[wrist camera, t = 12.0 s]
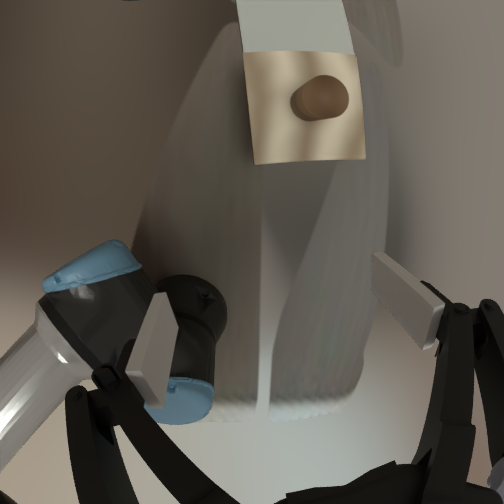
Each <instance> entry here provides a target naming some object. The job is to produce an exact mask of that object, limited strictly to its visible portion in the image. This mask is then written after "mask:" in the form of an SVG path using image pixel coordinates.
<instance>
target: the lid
mask: <svg viewBox="0 0 504 504" xmlns="http://www.w3.org/2000/svg"><path fill="white" fill-rule="evenodd" d="M242 56H243V64H244V73H245V82H246V91H247V100H248V109H249V119H250V128H251V138H252V147H253V157H254V164H255V165H259V164H269V163H281V162H296V161H313V160H339V159H365V138H364V121H363V109H362V98H361V89H360V80H359V73H358V66H357V59H356V55H352V54H343V53H332V52H316V51H262V52H246V53H243V54H242Z"/></svg>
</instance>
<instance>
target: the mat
mask: <svg viewBox="0 0 504 504" xmlns="http://www.w3.org/2000/svg"><path fill="white" fill-rule="evenodd" d="M236 4H237V11H238V17H239V24H240V31H241V38H242V45H243V53H246V52H262V51H316V52H332V53H343V54H352V55H354V51H353V46H352V41H351V36H350V32H349V27H348V23H347V19H346V15H345V11H344V7H343V4H342V0H236Z"/></svg>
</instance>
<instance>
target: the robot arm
mask: <svg viewBox="0 0 504 504" xmlns="http://www.w3.org/2000/svg"><path fill="white" fill-rule="evenodd" d="M142 267H143V266H142V264H141V263H138V261H137V260H136V259H135V257H134V256H133V255H132V253H131V252H130V251H129V249H128V248H127V247H126V245H125V244H124V243H123V242H121V241H118V240H109V241H107V242H105V243H102V244H100V245H99V246H97V247H95V248H93V249H91V250H89V251H88V252H86V253H84V254H82V255H81V256H79V257H77V258H76V259H74V260H72V261H70V262H69V263H67V264H66V265H64V266H62V267H61V268H60V269H58V270H56V271H55V272H53V273H52V274H51V275H49V276H47V277H46V278H45V279H43V281H42V287H43V291H44V292H47V293H46V294H45V295H44V296H43V297H42V298H41V299H40V300H39V301H38V302H37V303H36V313H35V322H34V324H33V325H32V326H31V327H30V328H29V329H28V330H27V331H26V332H25V333H24V334H23V335H22V336H21V337H20V338H19V339H18V340H17V341H16V342H15V343H14V344H13V345H12V346H11V348H10V349H9V350H8V351H7V352H6V353H5V354H4V355H3V356H2V357H1V358H0V472H1V471H2V470H3V469H4V467H5V466H6V465H7V464H8V463H9V462H10V460H11V459H12V458H13V457H14V456H15V454H16V453H17V452H18V451H19V450H20V449H21V447H22V446H23V445H24V444H25V443H26V442H27V441H28V439H29V438H30V437H31V436H32V435H33V434H34V432H35V431H36V430H37V429H38V428H39V427H40V426H41V425H42V423H43V422H44V421H45V420H46V419H47V418H48V417H49V416H50V415H51V413H52V412H53V411H54V410H55V409H56V408H57V407H58V406H59V405H60V404H61V403H62V401H64V399H65V410H66V411H65V412H66V426H67V437H68V446H69V453H70V460H71V466H72V472H73V477H74V482H75V487H76V491H77V495H78V500H79V503H80V504H139V502H138V500H137V497H136V495H135V492H134V490H133V487H132V485H131V482H130V479H129V476H128V474H127V471H126V468H125V465H124V462H123V459H122V456H121V453H120V449H119V446H118V442H117V439H116V435H115V431H114V427H113V426H117V425H120V426H121V428H122V429H123V431H124V432H125V434H126V436H127V437H128V439H129V440H130V441H131V443H132V444H133V446H134V447H135V449H136V450H137V452H138V453H139V454H140V456H141V457H142V458H143V460H144V461H145V462H146V463H147V465H148V466H149V467H150V469H151V470H152V471H153V473H154V474H155V475H156V476H157V478H158V479H159V480H160V481H161V482H162V484H163V485H164V486H165V487H166V488H167V489H168V490H169V492H170V493H171V494H172V495H173V496H174V497H175V498H176V499H177V501H178V502H179V503H180V504H240V503H239V502H237V501H236V500H235V499H234V498H232V497H231V496H230V495H229V494H228V493H226V492H225V491H224V490H223V489H221V488H220V487H219V486H218V485H216V484H215V483H214V482H213V481H212V480H211V479H210V478H208V477H207V476H206V475H205V474H204V473H203V472H202V471H201V470H200V469H199V468H198V467H197V466H196V465H195V464H194V463H193V462H192V461H191V460H190V459H188V457H187V456H186V455H185V454H184V453H183V452H182V451H181V450H180V449H179V448H178V447H177V446H176V445H175V444H174V442H173V441H172V440H171V439H170V438H169V437H168V436H167V435H166V433H165V432H164V431H163V430H162V429H161V428H160V427H159V425H158V424H157V423H163V424H170V425H182V424H189V423H193V422H196V421H199V420H201V419H202V418H204V417H205V416H206V415H207V414H208V413H209V411H210V410H211V407H212V402H213V396H214V394H215V388H214V369H215V346H216V343H217V341H218V340H219V338H220V336H221V335H222V333H223V331H224V329H225V326H226V322H227V307H226V303H225V301H224V298H223V297H222V295H221V294H220V292H219V291H218V290H217V289H216V288H215V287H214V286H213V285H211V284H210V283H208V282H206V281H205V280H202V279H200V278H197V277H193V276H187V275H178V276H172V277H169V278H166V279H164V280H162V281H161V282H159V283H158V284H157V285H156V286H154V285H153V283H152V282H151V280H150V279H149V277H148V276H147V274H146V273H145V271H144V270H143V268H142ZM370 290H371V291H372V292H373V293H374V295H375V296H376V297H377V298H378V299H379V300H380V301H381V302H382V304H383V305H384V306H385V307H386V308H387V309H388V310H389V311H390V313H392V315H393V316H394V317H395V318H396V320H397V321H398V322H399V323H400V324H401V325H402V327H403V328H404V329H405V330H406V331H407V333H408V334H409V335H410V336H411V337H412V339H413V340H414V341H415V342H416V343H417V345H418V346H419V347H420V348H421V350H422V351H423V350H425V349H428V348H430V347H432V346H433V345H434V341H435V339H436V338H437V339H438V340H439V341H440V342H439V345H438V348H437V351H436V354H435V357H436V356H437V360H436V368H435V375H434V381H433V388H432V393H431V398H430V403H429V408H428V412H427V416H426V421H425V425H424V428H423V432H422V436H421V439H420V443H419V447H418V449H417V452H416V454H415V456H414V458H413V460H412V462H411V464H399V465H397V464H396V462H395V460H394V461H392V462H389V463H387V464H384V465H382V466H379V467H377V468H375V469H372V470H370V471H368V472H367V473H365V474H363V475H362V476H360V477H359V478H357V479H355V480H354V481H352V482H350V483H348V484H346V485H343V486H333V487H314V488H310V489H305V490H301V491H296V492H291V493H286V498H285V499H283V500H280V501H278V502H276V503H274V504H504V314H503V312H502V310H501V309H500V307H499V305H498V304H497V303H496V302H495V301H493V300H491V299H483V300H482V301H481V302H480V305H479V308H474V309H470V308H469V307H468V306H467V305H465V304H462V303H454V304H453V303H452V302H451V301H450V300H448V299H447V298H446V297H445V296H444V295H443V294H441V293H439V291H438V290H437V289H435V288H434V287H433V286H432V285H431V284H429V283H427V282H425V281H419V280H417V279H416V278H415V277H414V276H412V275H411V274H410V273H409V272H408V271H406V270H405V269H404V268H403V267H401V266H400V265H399V264H398V263H396V262H395V261H394V260H393V259H391V258H390V257H389V256H387V255H386V254H385V253H384V252H382V251H381V252H376V253H372V271H371V288H370ZM474 368H475V372H476V375H477V380H478V384H479V388H480V393H481V398H482V403H483V408H484V414H485V421H486V427H487V435H488V445H489V453H490V460H491V464H492V470H491V474H490V476H489V477H488V479H487V484H488V486H490V488H487V487H482V486H479V485H475V484H472V483H468V482H466V480H467V476H468V472H469V467H470V462H471V458H472V452H473V447H474V440H475V433H476V427H475V425H472V424H471V418H472V409H473V394H474ZM86 379H92V381H93V382H94V383H95V385H96V386H97V388H98V389H95V390H92V391H87V390H86V388H84V387H83V386H80V385H78V384H79V383H80V382H81V381H82V380H86ZM156 422H157V423H156ZM0 504H17V503H16V502H15V501H14V500H13V499H11V498H10V497H9V496H8V495H6V494H5V493H3V492H2V491H0Z"/></svg>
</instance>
